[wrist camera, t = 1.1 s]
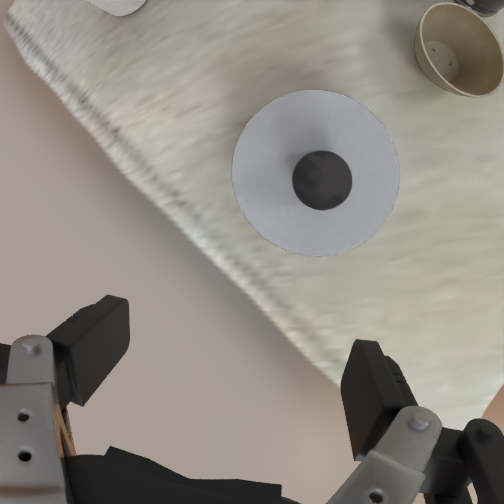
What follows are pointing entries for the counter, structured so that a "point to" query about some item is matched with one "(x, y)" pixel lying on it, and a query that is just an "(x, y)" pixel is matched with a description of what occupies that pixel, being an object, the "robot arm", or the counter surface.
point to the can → (118, 6)
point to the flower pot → (459, 50)
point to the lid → (315, 173)
